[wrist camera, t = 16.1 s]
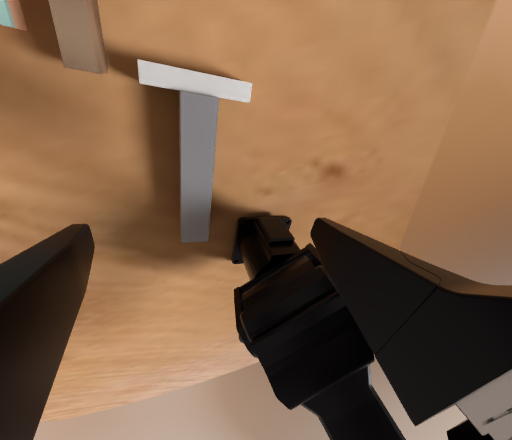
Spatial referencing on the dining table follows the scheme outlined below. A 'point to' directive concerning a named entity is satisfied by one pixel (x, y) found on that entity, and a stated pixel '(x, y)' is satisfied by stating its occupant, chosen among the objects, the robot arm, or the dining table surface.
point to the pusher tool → (195, 136)
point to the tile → (12, 14)
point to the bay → (79, 34)
